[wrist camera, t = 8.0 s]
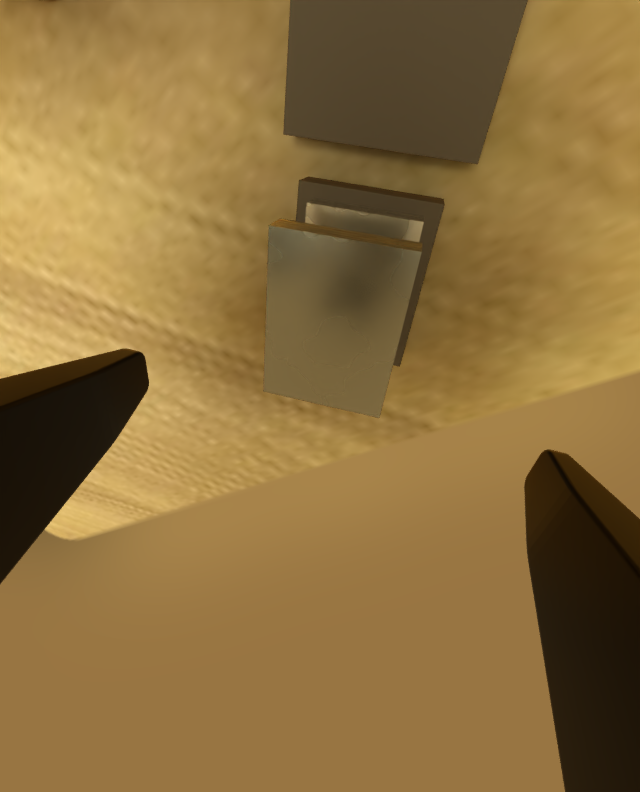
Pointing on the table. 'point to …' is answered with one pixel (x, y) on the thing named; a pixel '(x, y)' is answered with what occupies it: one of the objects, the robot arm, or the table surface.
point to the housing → (338, 303)
